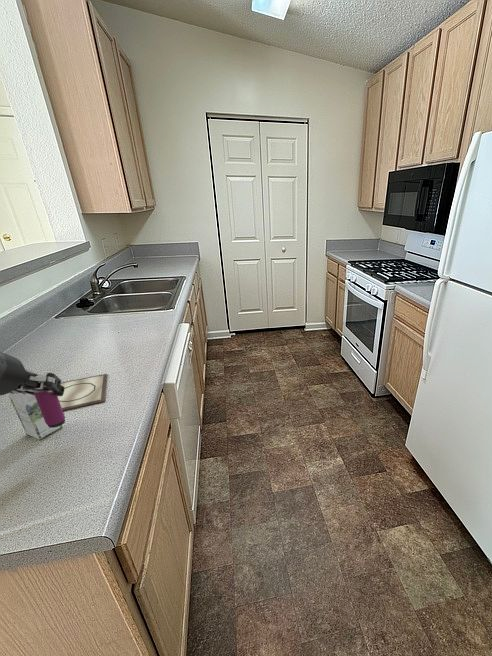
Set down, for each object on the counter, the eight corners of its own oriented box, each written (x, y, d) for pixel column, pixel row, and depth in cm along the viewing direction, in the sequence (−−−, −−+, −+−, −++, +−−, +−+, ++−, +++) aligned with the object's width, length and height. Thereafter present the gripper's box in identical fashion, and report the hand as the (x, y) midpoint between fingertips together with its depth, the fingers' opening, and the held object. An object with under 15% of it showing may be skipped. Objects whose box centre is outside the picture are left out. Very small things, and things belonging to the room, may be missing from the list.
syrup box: (50, 421, 87) (29, 373, 80) (64, 427, 84) (43, 378, 78) (26, 434, 82) (2, 383, 76) (40, 441, 80) (16, 389, 73)
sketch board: (37, 417, 89) (36, 414, 88) (49, 386, 103) (49, 384, 103) (105, 402, 95) (104, 400, 94) (107, 374, 109) (107, 372, 109)
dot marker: (45, 430, 72) (27, 385, 67) (48, 421, 75) (31, 378, 70) (65, 425, 73) (48, 381, 69) (67, 417, 76) (51, 374, 72)
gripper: (29, 347, 58) (87, 374, 74) (-54, 349, 58) (24, 376, 74) (18, 389, 56) (81, 407, 72) (-68, 391, 55) (15, 409, 72)
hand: (52, 391), depth 73 cm, fingers closed on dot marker, 3 cm apart
